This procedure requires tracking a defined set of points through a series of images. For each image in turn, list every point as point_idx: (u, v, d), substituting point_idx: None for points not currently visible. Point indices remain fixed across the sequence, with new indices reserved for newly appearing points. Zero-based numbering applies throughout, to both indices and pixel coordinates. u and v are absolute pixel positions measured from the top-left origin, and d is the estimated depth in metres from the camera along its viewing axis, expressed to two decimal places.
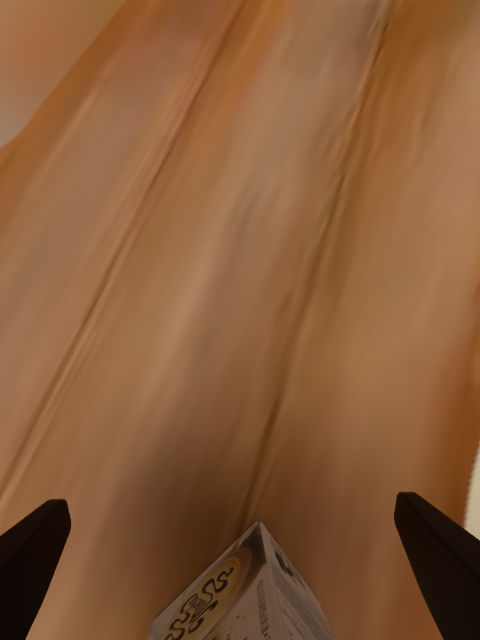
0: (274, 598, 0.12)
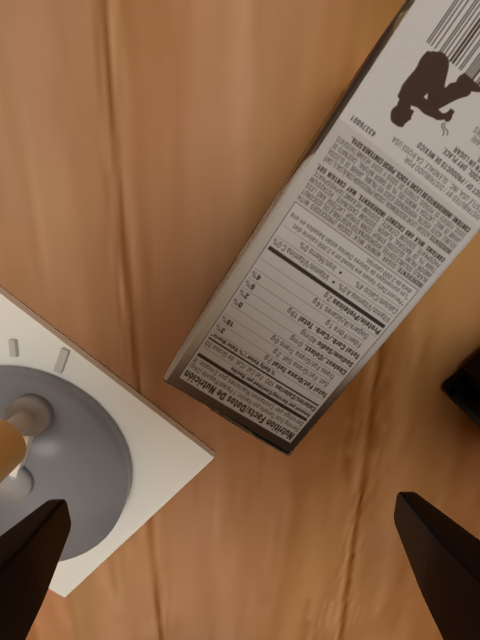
0: (261, 237, 0.10)
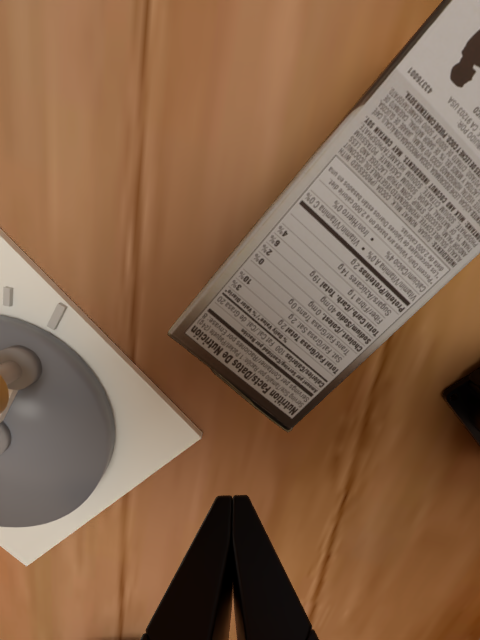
0: (293, 190, 0.10)
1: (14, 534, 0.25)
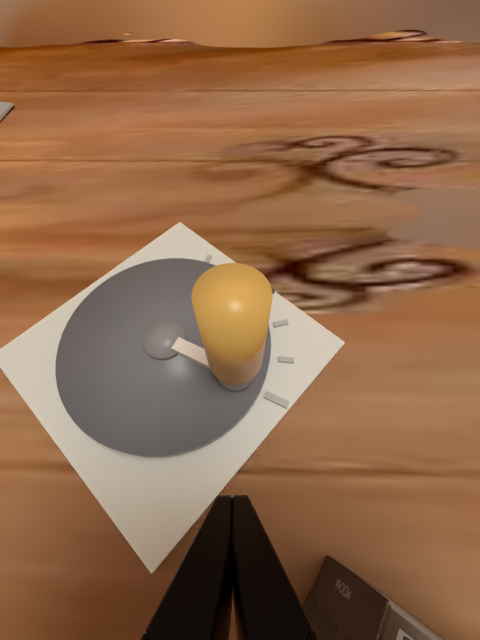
0: None
1: (36, 346, 0.25)
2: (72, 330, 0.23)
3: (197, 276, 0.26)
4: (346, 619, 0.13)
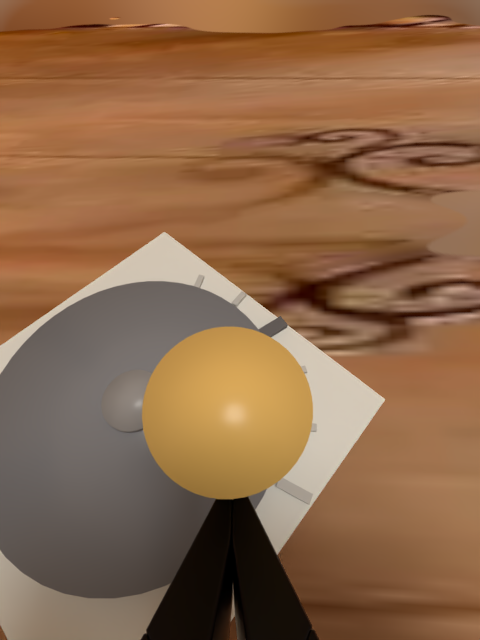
0: None
1: None
2: (6, 385, 0.17)
3: (183, 306, 0.19)
4: None
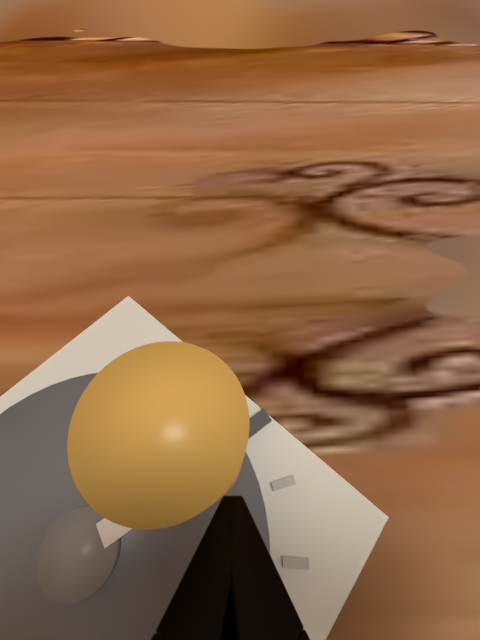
0: None
1: None
2: None
3: (23, 432, 0.15)
4: None
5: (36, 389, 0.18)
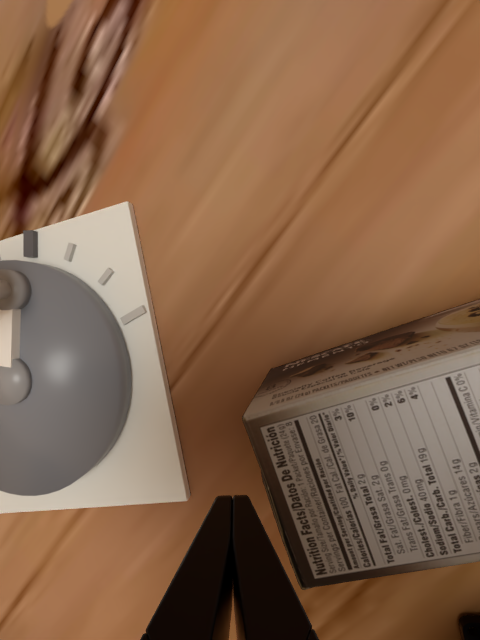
0: (446, 362, 0.09)
1: None
2: (39, 485, 0.20)
3: None
4: None
5: None
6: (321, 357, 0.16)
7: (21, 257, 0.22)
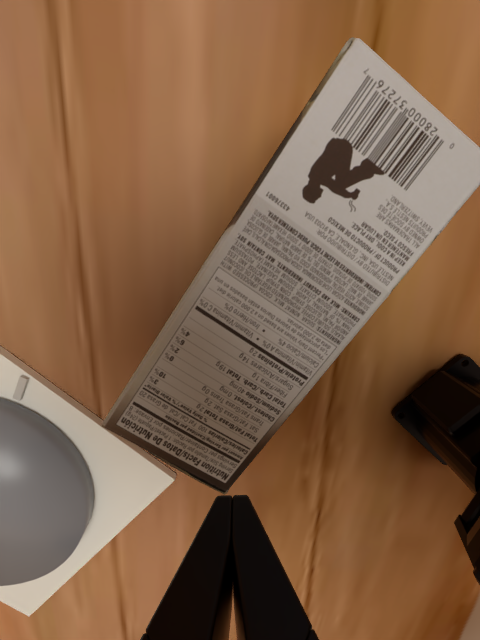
0: (188, 297, 0.11)
1: (12, 589, 0.26)
2: (61, 552, 0.23)
3: None
4: None
5: None
6: None
7: None
